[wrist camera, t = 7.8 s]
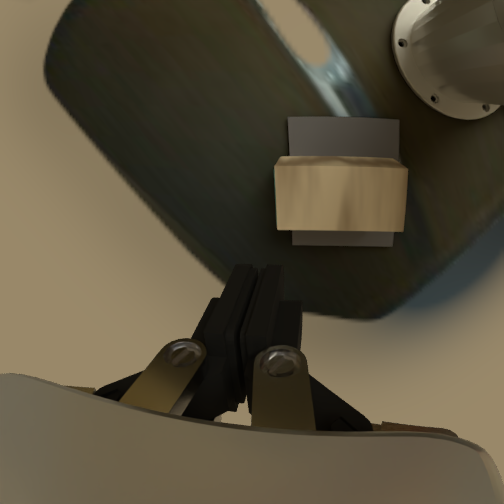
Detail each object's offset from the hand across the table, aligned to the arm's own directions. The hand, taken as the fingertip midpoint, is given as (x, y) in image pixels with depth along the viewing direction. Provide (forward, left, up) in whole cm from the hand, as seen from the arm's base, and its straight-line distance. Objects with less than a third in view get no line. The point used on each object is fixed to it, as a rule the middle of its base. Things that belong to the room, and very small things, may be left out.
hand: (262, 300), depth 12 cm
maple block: (+1, 0, -16) cm, 16 cm away
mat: (-5, 0, -19) cm, 20 cm away
